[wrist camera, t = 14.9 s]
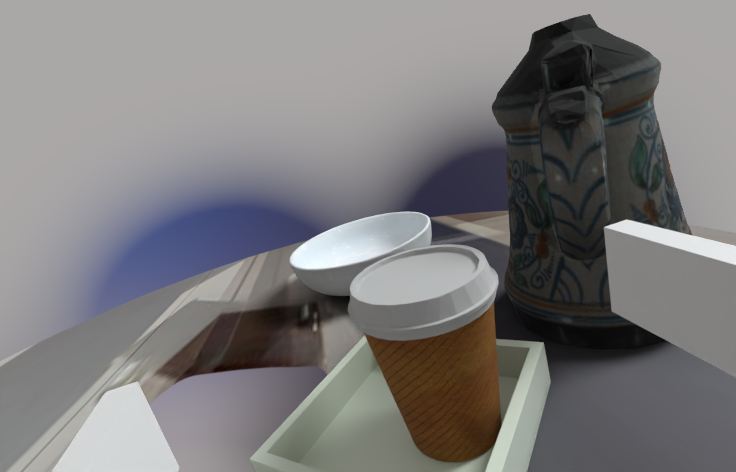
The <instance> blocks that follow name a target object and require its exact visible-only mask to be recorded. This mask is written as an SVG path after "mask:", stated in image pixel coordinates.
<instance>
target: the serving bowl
mask: <svg viewBox="0 0 736 472" xmlns="http://www.w3.org/2000/svg"><path fill="white" fill-rule="evenodd" d="M431 236H432V234H431V222H430V219H429V217H428V216H426V215H424V214H422V213H418V212H396V213H387V214H381V215H376V216H372V217H367V218H363V219H359V220H356V221H353V222H350V223H346V224H343V225H341V226H338V227H335V228H333V229H330V230H328V231H326V232H324V233H322V234H319V235H317V236H316V237H314V238H312V239H310V240H309V241H307V242H305V243H304V244H302V245H301V246H300V247H298V248H297V249H296V250H295V251H294V252H293V253H292V255H291V257H290V260H289V262H290V265H291V267H292V269H293V271H294V273H295V274H296V276H297V277H298V278H299V279H300V281H301V282H302V283H303V284H305V285H306V286H307V287H309V288H310V289H312V290H314V291H316V292H319V293H322V294H326V295H332V296H350V286H351V283H352V281H353V279H354V278H355V277H356V276H357V275H358V274H359V273H360V272H362V271H363V270H364V269H365V268H367V267H369V266H370V265H372V264H374V263H376V262H378V261H380V260H382V259H384V258H387V257H390V256H392V255H395V254H397V253H400V252H404V251H407V250H411V249H415V248H420V247H426V246H430V244H431Z"/></svg>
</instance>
